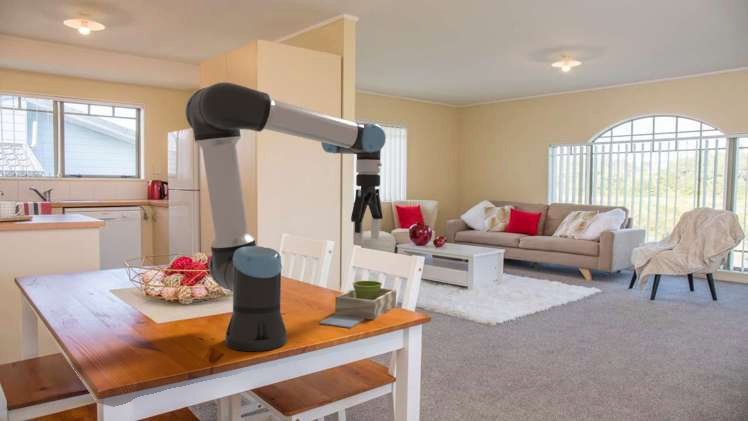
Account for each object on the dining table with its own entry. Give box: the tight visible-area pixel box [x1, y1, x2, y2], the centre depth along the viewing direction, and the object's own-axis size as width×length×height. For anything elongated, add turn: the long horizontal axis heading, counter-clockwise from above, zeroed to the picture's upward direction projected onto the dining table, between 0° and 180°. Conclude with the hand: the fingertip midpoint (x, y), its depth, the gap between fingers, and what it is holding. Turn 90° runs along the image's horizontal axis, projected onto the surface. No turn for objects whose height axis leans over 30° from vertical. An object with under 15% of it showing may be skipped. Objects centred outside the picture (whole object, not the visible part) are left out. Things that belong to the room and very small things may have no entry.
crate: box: [334, 287, 397, 320], centre depth 167 cm, size 19×13×6 cm
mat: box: [318, 314, 366, 329], centre depth 153 cm, size 10×10×1 cm
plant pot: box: [352, 280, 383, 300], centre depth 167 cm, size 9×9×9 cm
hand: (367, 241), depth 166 cm, fingers open, 13 cm apart
